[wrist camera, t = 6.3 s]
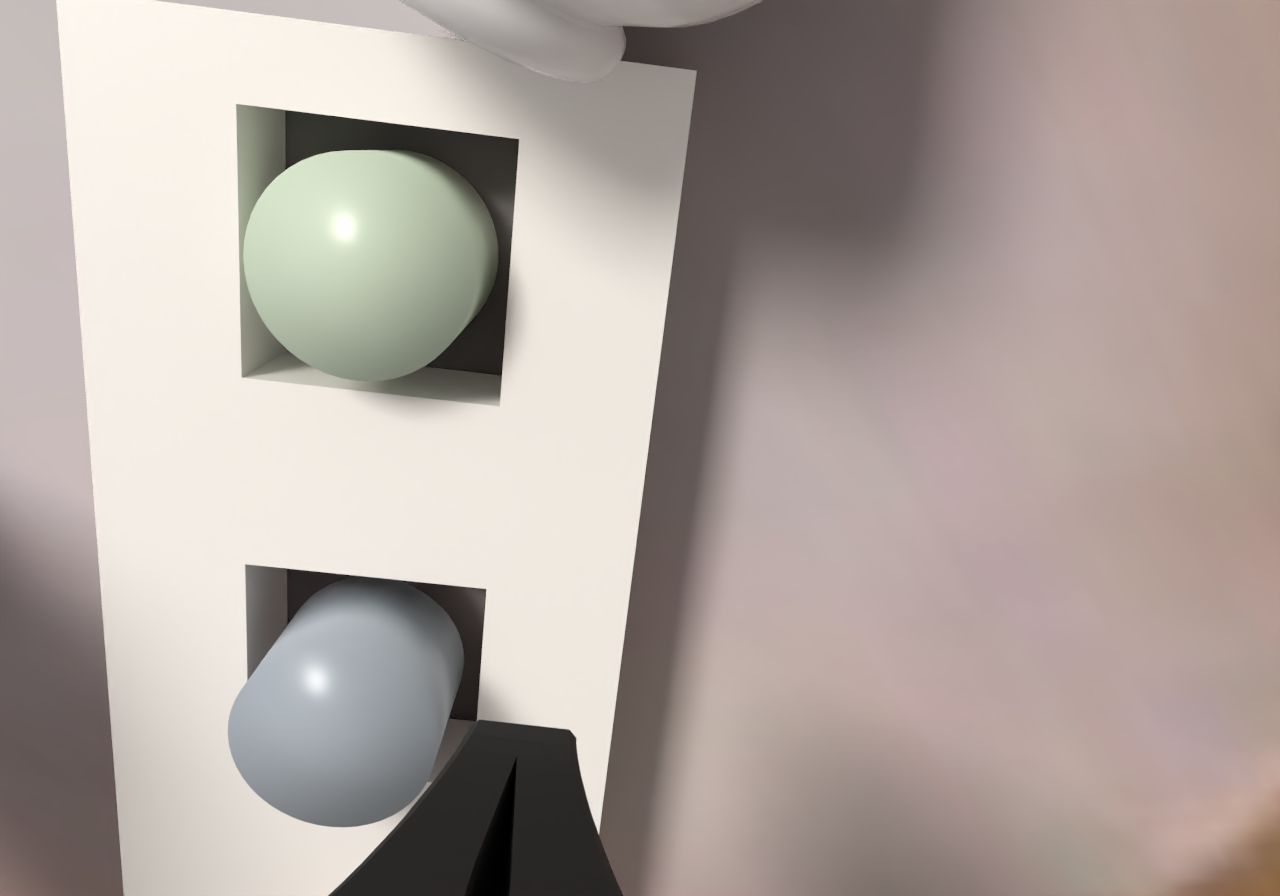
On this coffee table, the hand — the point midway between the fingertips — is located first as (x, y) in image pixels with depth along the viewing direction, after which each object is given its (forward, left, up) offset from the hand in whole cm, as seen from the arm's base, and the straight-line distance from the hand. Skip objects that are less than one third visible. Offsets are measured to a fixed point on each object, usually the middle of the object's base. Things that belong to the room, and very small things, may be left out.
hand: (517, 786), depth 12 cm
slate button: (-4, -3, -8) cm, 10 cm away
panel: (-4, -3, -9) cm, 11 cm away
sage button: (-4, +6, -9) cm, 11 cm away
